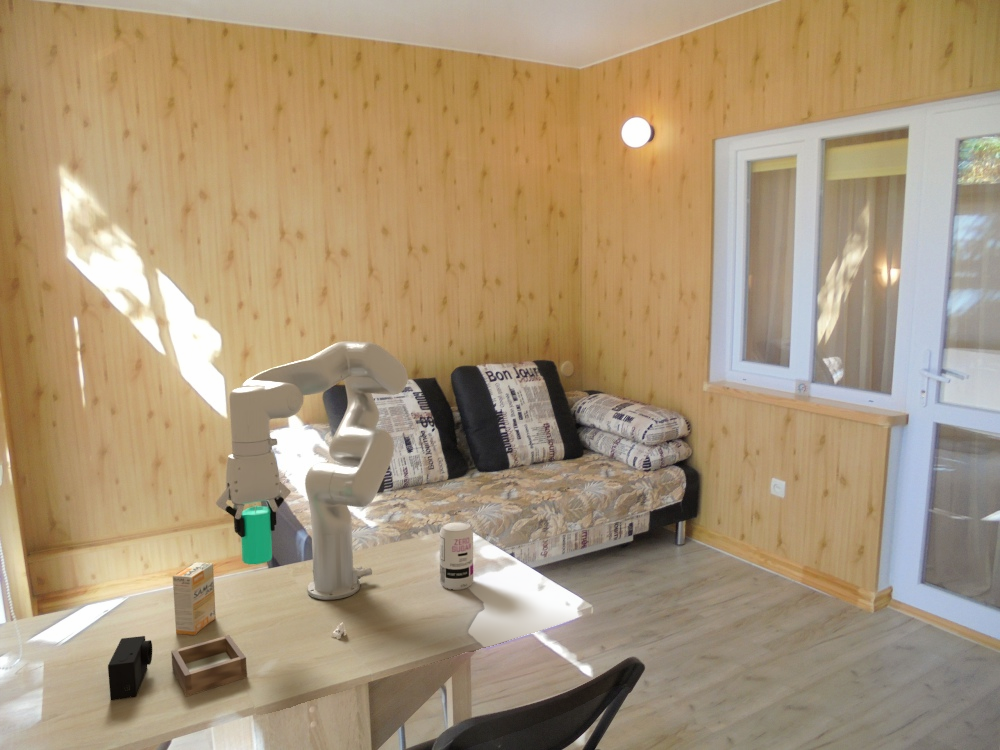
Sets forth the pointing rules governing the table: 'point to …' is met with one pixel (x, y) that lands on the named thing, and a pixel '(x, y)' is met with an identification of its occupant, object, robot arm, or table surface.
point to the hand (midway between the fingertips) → (255, 531)
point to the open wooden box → (208, 665)
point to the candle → (257, 535)
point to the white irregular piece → (339, 631)
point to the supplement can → (456, 555)
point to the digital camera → (129, 667)
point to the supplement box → (194, 598)
